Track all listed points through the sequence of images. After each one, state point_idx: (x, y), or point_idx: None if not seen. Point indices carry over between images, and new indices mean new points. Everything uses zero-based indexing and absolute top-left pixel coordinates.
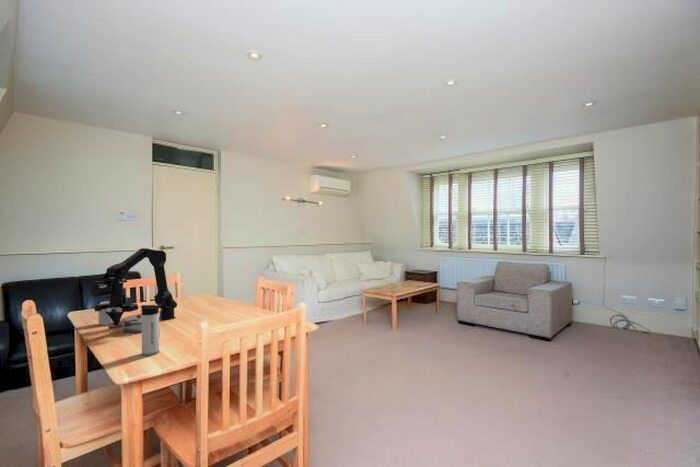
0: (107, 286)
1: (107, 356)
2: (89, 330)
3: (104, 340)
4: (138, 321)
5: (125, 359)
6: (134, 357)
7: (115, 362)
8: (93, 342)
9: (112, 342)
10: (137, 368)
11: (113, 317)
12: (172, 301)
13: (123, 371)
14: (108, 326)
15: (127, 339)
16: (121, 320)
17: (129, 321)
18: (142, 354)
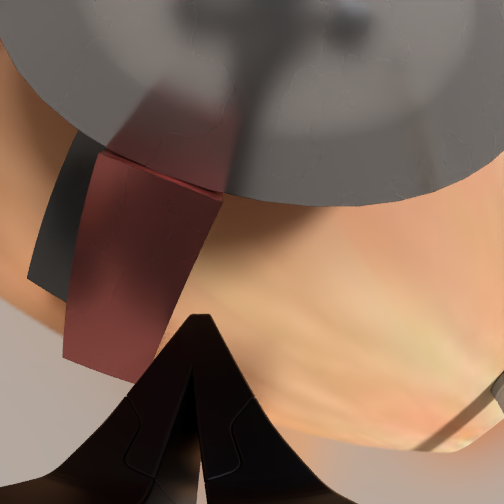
0: None
1: (392, 438)
2: None
3: None
4: (486, 156)
5: (453, 423)
6: (473, 407)
7: (433, 439)
8: None
9: (305, 363)
10: (483, 425)
11: (195, 492)
12: None
13: (461, 441)
14: (38, 277)
15: (380, 296)
16: (130, 212)
17: (357, 201)
18: (493, 395)
